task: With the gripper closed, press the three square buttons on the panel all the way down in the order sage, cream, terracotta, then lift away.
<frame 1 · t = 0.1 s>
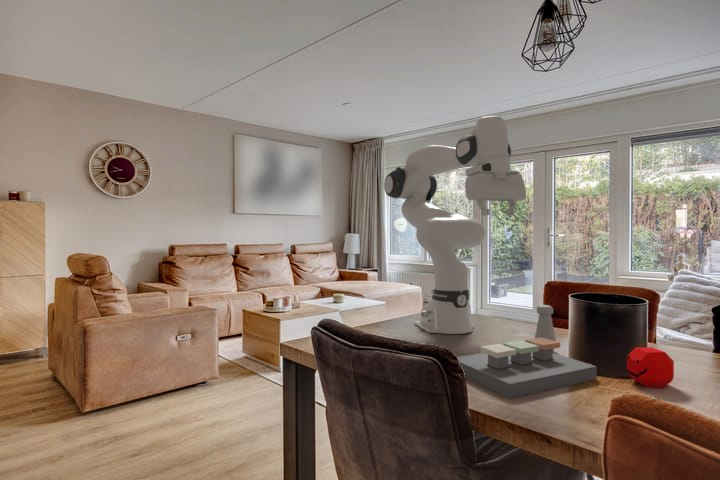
hand: (498, 215, 126), 39 cm above the table, tool pointing down, fingers open, 8 cm apart
sage button: (520, 353, 102), point 5 cm above the table, slide at 0.0 cm
ball: (649, 384, 95), on the table
panel: (520, 374, 102), on the table
salt shaker: (544, 351, 122), on the table
cream button: (498, 357, 99), point 5 cm above the table, slide at 0.0 cm
terracotta button: (542, 349, 105), point 5 cm above the table, slide at 0.0 cm
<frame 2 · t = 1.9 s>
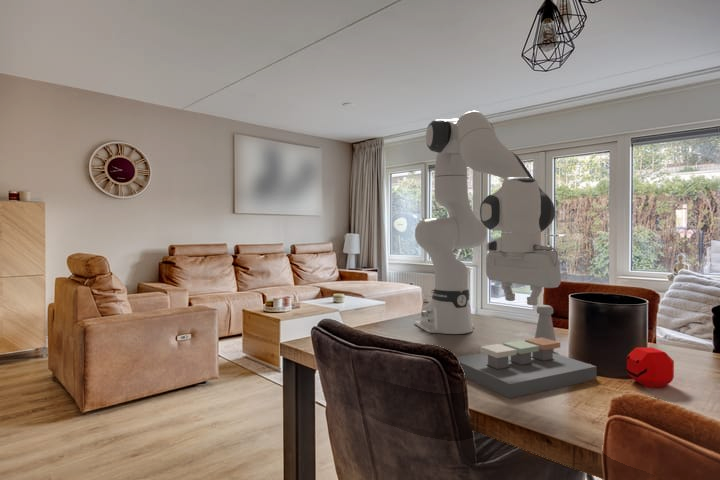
hand: (520, 302, 102), 17 cm above the table, tool pointing down, fingers open, 5 cm apart
nothing on the table moved.
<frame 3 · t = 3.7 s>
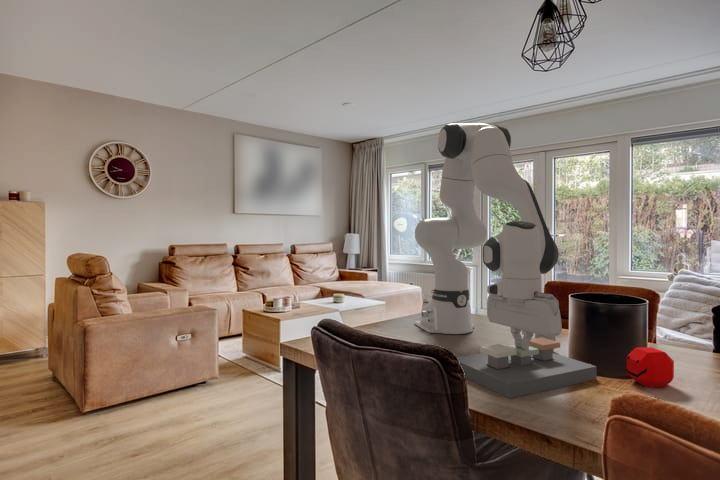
hand: (521, 347, 102), 7 cm above the table, tool pointing down, fingers closed, pressing on sage button
sage button: (520, 356, 102), point 4 cm above the table, slide at -0.7 cm, touching gripper
everything else where it was.
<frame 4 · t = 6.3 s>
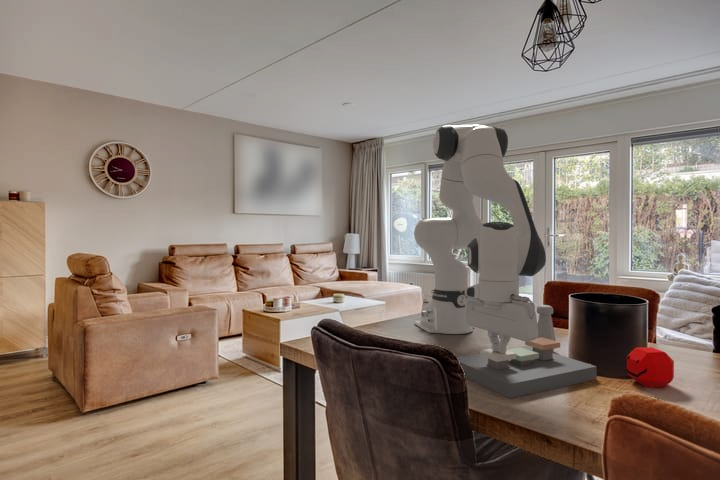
hand: (499, 352, 99), 6 cm above the table, tool pointing down, fingers closed, pressing on cream button
sage button: (520, 360, 102), point 3 cm above the table, slide at -1.7 cm
cream button: (498, 360, 99), point 4 cm above the table, slide at -0.9 cm, touching gripper
everything else where it was.
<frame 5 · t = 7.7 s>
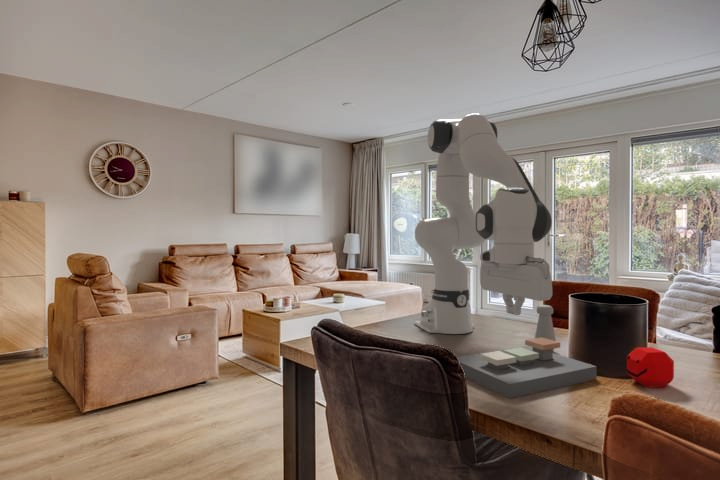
hand: (513, 313, 101), 15 cm above the table, tool pointing down, fingers closed
cream button: (498, 364, 99), point 3 cm above the table, slide at -1.7 cm
everything else where it was.
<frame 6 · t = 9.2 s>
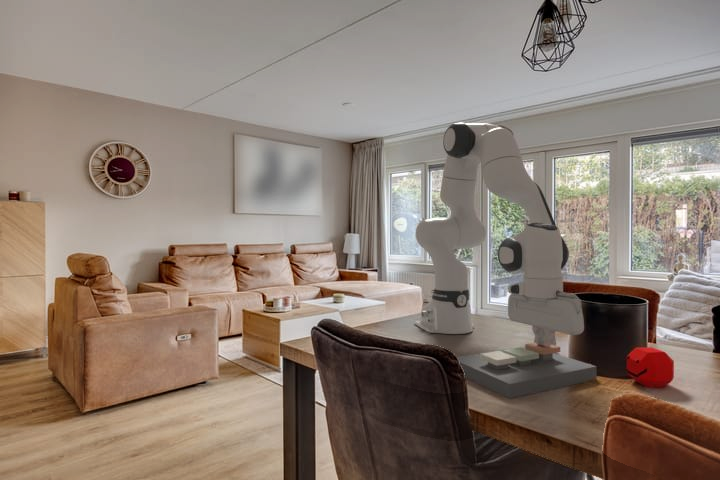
hand: (543, 345, 104), 6 cm above the table, tool pointing down, fingers closed, pressing on terracotta button
terracotta button: (542, 354, 105), point 4 cm above the table, slide at -1.1 cm, touching gripper
everything else where it was.
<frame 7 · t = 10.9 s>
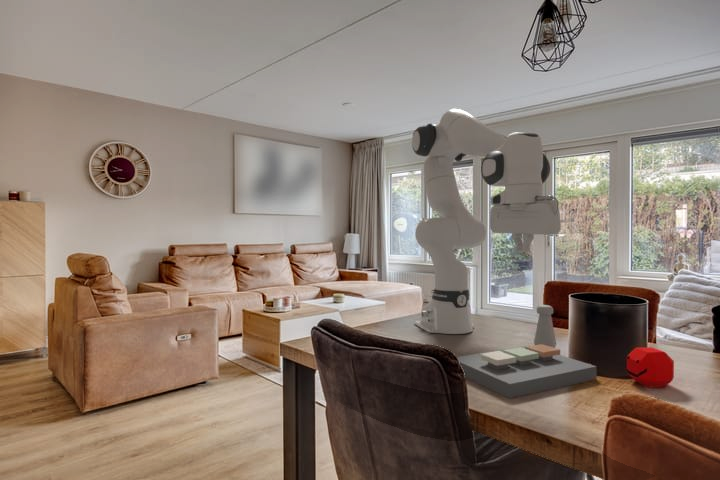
hand: (522, 252, 108), 29 cm above the table, tool pointing down, fingers closed
terracotta button: (542, 356, 105), point 3 cm above the table, slide at -1.7 cm
everything else where it was.
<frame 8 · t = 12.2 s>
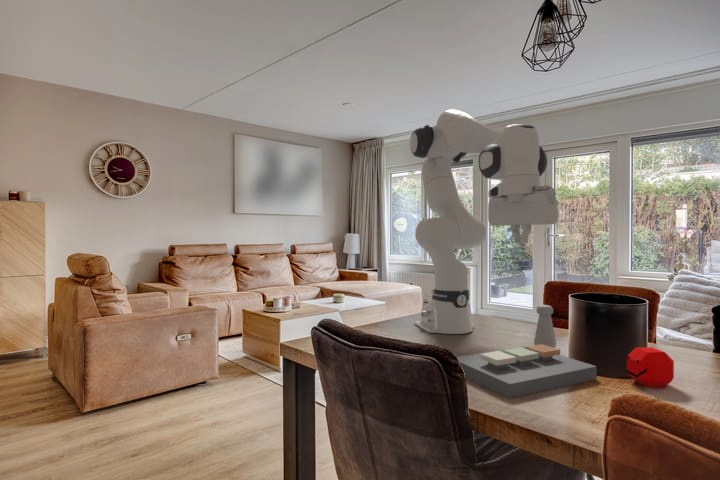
hand: (520, 243, 108), 31 cm above the table, tool pointing down, fingers closed
nothing on the table moved.
at the end: sage button slide at -1.7 cm; cream button slide at -1.7 cm; terracotta button slide at -1.7 cm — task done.
